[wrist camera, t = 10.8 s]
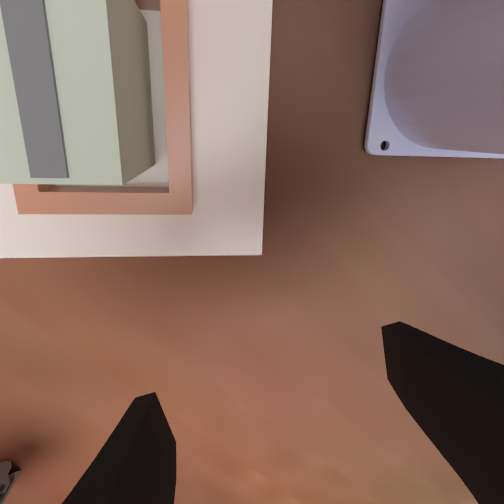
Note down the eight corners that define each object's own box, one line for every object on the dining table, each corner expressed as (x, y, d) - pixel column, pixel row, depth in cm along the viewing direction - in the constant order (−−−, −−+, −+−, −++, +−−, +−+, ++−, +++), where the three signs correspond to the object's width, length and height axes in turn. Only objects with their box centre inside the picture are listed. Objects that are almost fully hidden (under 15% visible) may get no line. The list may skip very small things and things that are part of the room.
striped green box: (155, 164, 17) (121, 185, 10) (69, 162, 16) (-25, 184, 10) (147, 23, 15) (98, -64, 8) (49, 16, 15) (-86, -82, 8)
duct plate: (272, -71, 15) (285, -114, 13) (259, 249, 20) (267, 266, 18) (-108, -112, 13) (-184, -171, 11) (-20, 252, 18) (-58, 271, 16)
